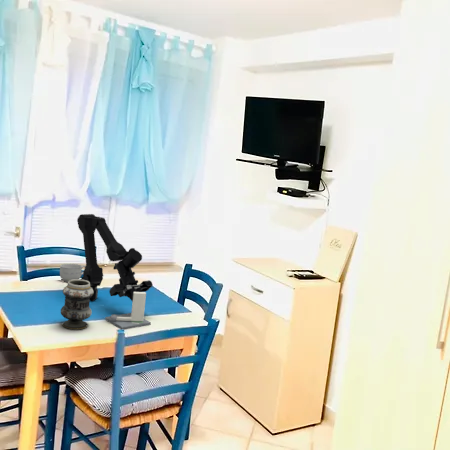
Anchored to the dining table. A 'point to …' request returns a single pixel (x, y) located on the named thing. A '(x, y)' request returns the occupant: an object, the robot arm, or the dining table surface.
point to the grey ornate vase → (76, 304)
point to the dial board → (127, 322)
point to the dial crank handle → (134, 308)
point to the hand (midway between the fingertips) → (138, 305)
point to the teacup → (70, 271)
